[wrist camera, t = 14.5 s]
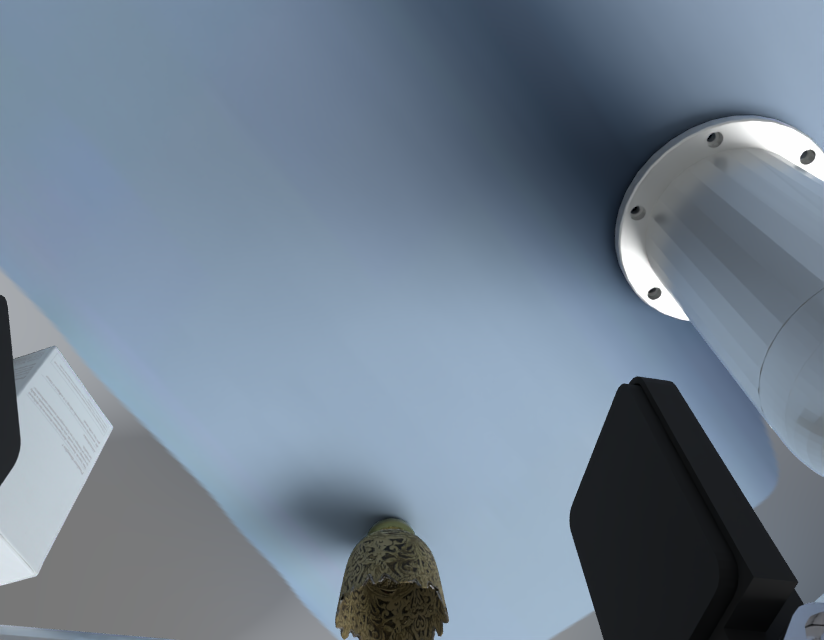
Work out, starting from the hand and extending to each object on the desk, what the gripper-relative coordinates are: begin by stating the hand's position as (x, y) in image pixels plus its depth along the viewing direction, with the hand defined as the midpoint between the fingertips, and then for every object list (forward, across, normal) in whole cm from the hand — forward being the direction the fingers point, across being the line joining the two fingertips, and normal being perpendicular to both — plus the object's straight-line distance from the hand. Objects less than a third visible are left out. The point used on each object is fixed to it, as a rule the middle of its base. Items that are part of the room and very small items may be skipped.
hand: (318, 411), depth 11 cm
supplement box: (+31, +18, +25) cm, 43 cm away
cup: (+31, -7, +33) cm, 45 cm away
